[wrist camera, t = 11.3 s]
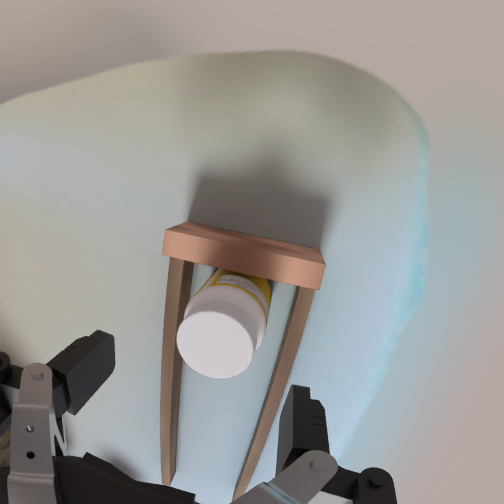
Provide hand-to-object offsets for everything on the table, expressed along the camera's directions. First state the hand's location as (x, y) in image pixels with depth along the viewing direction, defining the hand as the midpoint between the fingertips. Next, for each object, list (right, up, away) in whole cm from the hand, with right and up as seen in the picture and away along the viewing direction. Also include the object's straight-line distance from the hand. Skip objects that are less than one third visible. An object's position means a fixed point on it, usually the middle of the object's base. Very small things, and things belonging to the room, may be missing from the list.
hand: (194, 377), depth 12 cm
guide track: (-1, -9, +13) cm, 16 cm away
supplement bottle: (+2, +2, +11) cm, 11 cm away
